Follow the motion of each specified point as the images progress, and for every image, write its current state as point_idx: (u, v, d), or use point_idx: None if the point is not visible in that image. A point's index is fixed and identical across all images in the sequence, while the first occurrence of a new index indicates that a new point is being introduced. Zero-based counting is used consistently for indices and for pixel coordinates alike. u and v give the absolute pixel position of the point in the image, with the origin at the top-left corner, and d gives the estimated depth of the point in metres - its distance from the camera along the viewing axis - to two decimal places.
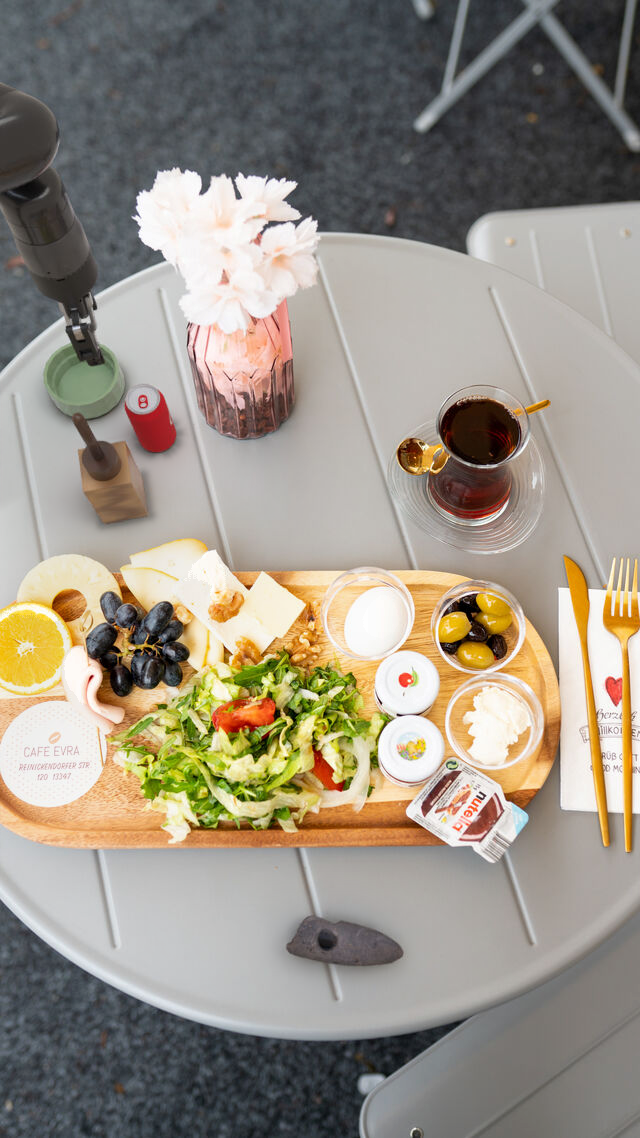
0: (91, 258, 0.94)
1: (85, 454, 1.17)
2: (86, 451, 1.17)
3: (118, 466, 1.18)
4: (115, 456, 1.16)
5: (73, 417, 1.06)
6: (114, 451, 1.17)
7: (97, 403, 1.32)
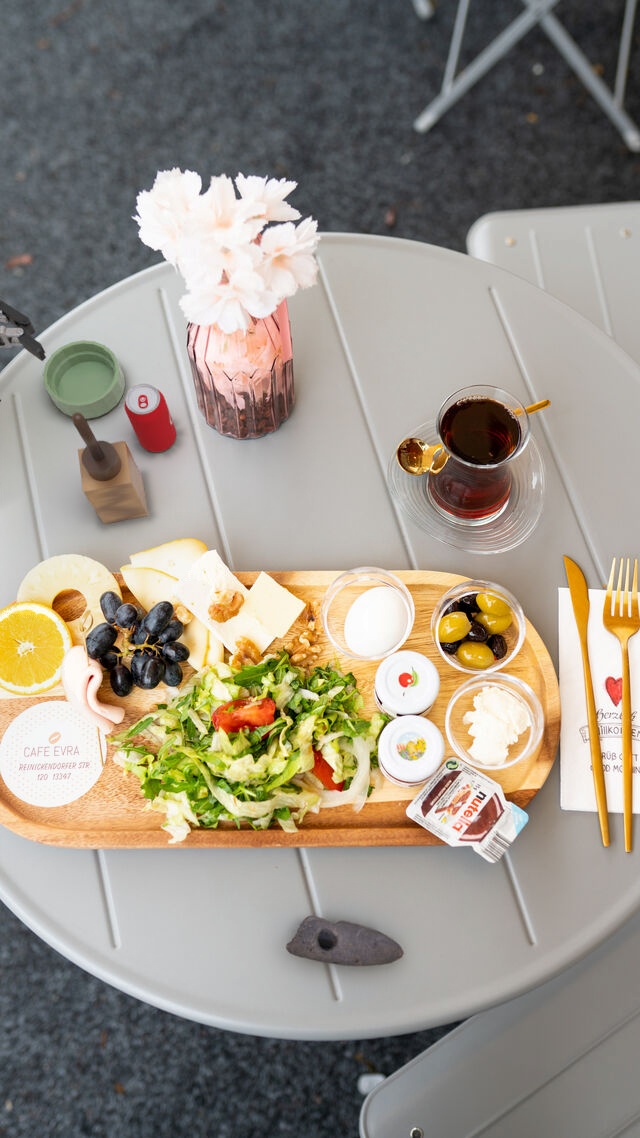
0: None
1: (85, 454, 1.17)
2: (86, 451, 1.17)
3: (118, 466, 1.18)
4: (115, 456, 1.16)
5: (73, 417, 1.06)
6: (114, 451, 1.17)
7: (97, 403, 1.32)
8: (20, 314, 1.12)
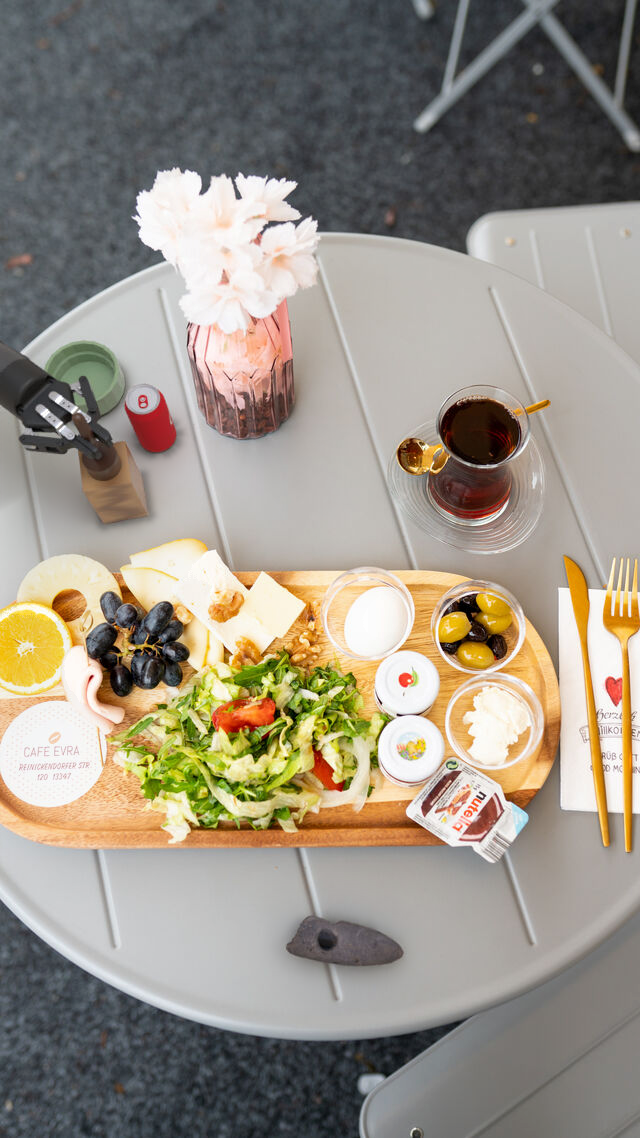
0: (6, 376, 1.10)
1: None
2: None
3: (118, 466, 1.18)
4: (115, 456, 1.16)
5: (73, 417, 1.06)
6: (114, 451, 1.17)
7: (97, 403, 1.32)
8: (92, 399, 1.12)
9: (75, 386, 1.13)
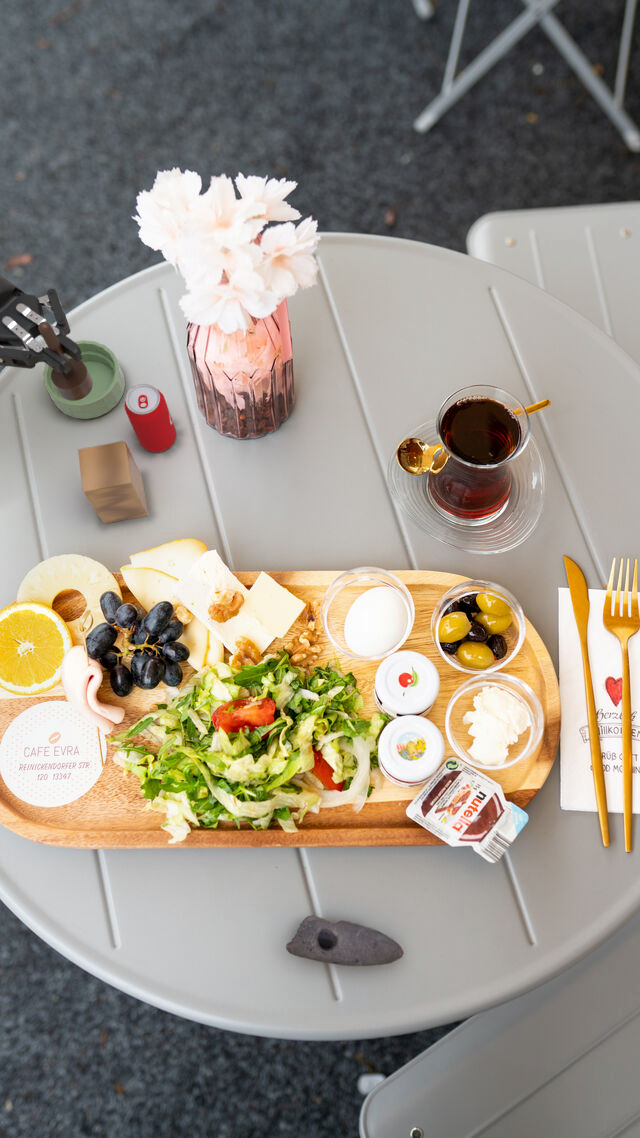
0: None
1: (55, 371, 1.14)
2: None
3: (89, 384, 1.15)
4: (86, 374, 1.14)
5: (40, 326, 1.03)
6: (85, 369, 1.14)
7: (97, 403, 1.32)
8: (61, 312, 1.09)
9: (44, 299, 1.10)
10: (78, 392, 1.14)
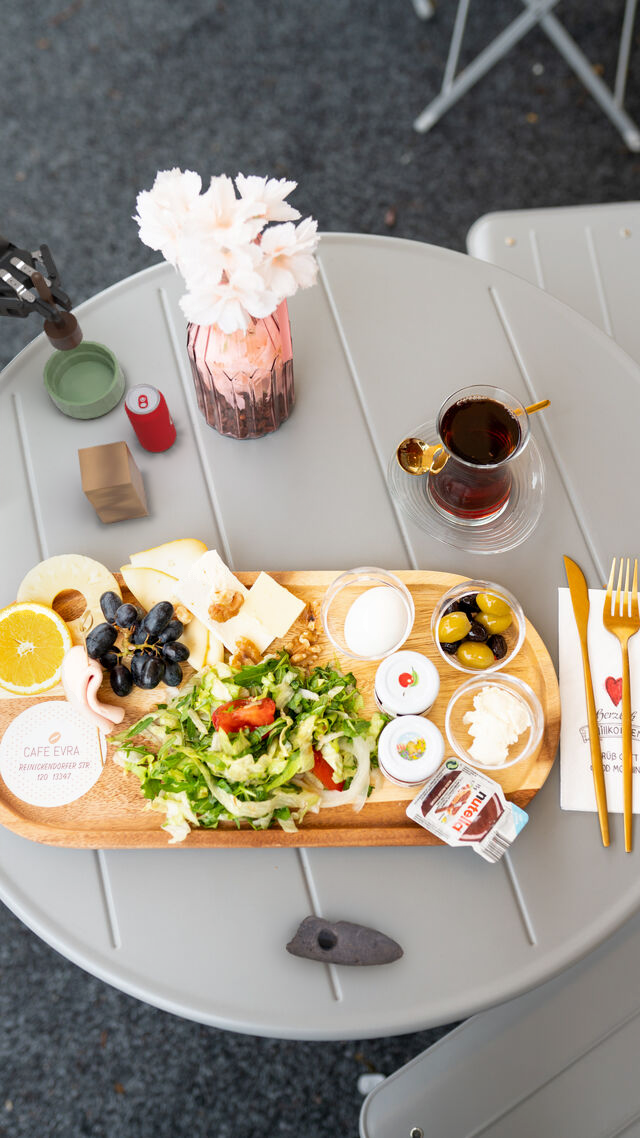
0: None
1: (47, 323, 1.21)
2: None
3: (79, 335, 1.23)
4: (76, 325, 1.21)
5: (32, 275, 1.11)
6: (75, 320, 1.22)
7: (97, 403, 1.32)
8: (52, 266, 1.17)
9: (36, 254, 1.18)
10: (69, 342, 1.22)
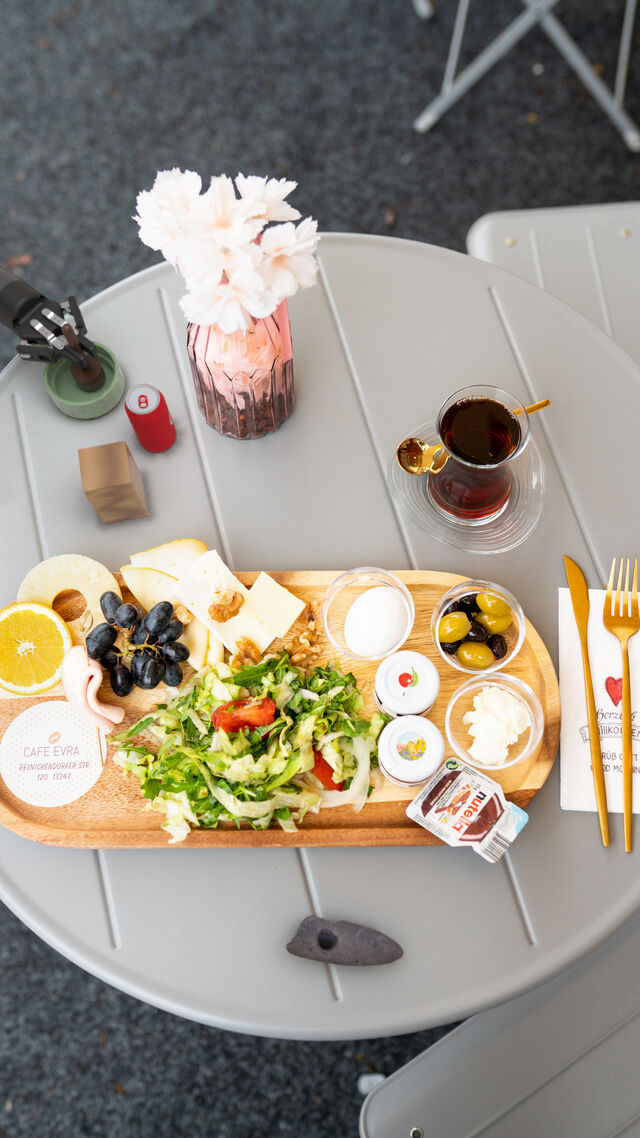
0: (5, 294, 1.27)
1: (74, 366, 1.33)
2: None
3: (102, 377, 1.35)
4: (100, 368, 1.33)
5: (63, 327, 1.23)
6: (99, 364, 1.34)
7: (97, 403, 1.32)
8: (79, 316, 1.29)
9: (65, 305, 1.30)
10: (93, 384, 1.34)
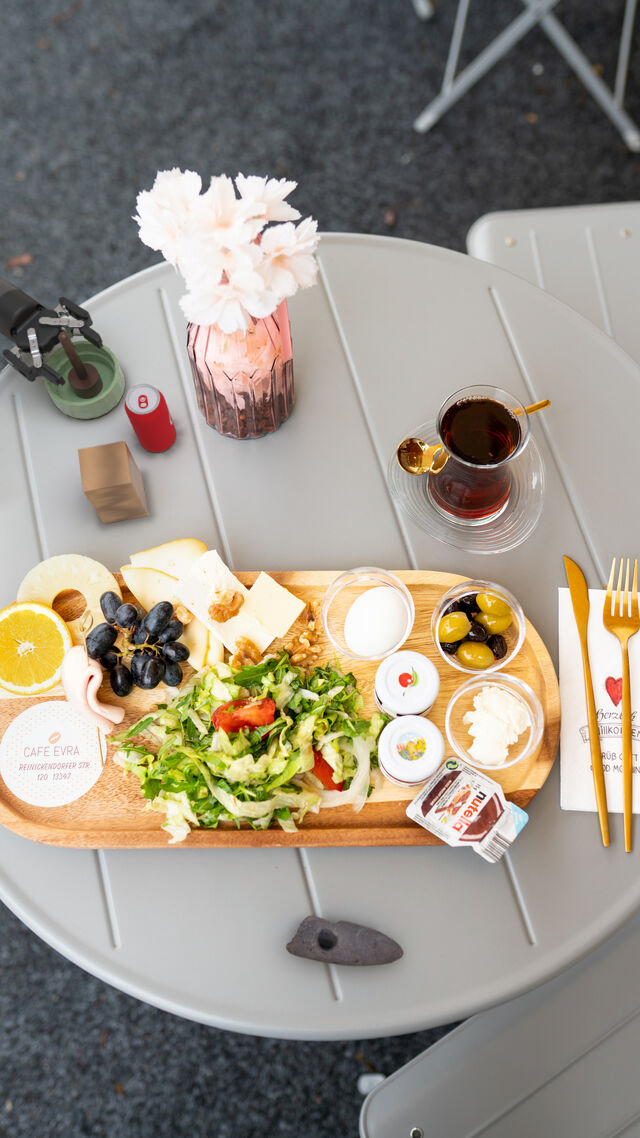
0: (2, 303, 1.28)
1: (71, 374, 1.34)
2: (72, 372, 1.34)
3: (99, 385, 1.35)
4: (97, 376, 1.34)
5: (59, 335, 1.24)
6: (96, 371, 1.34)
7: (97, 403, 1.32)
8: (81, 308, 1.30)
9: (59, 309, 1.31)
10: (90, 391, 1.34)
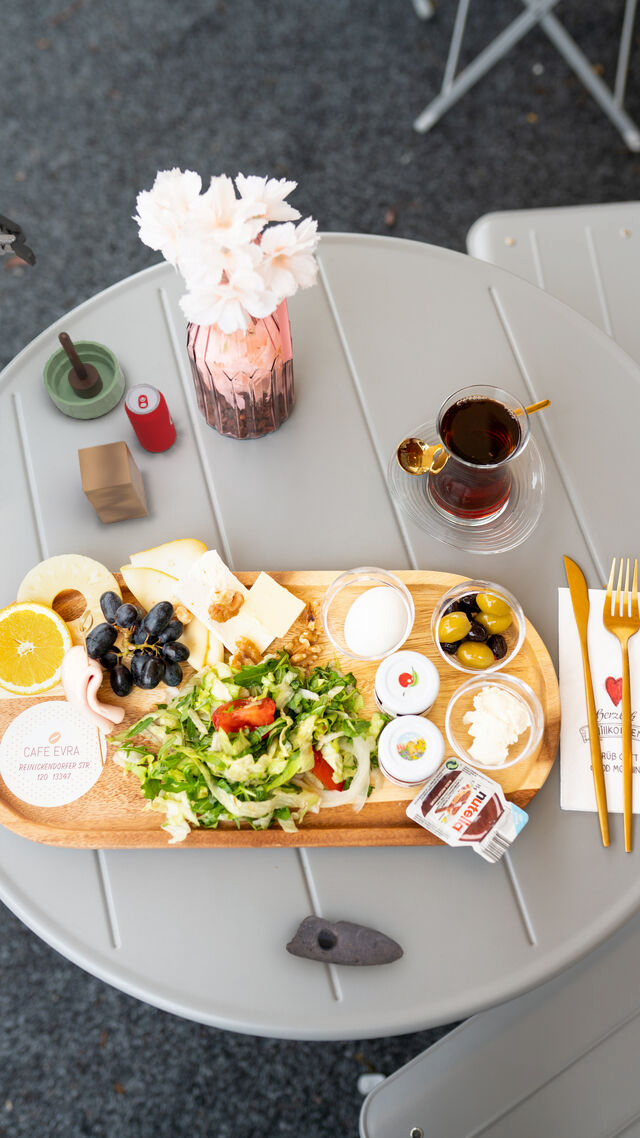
0: None
1: (71, 374, 1.34)
2: (72, 372, 1.34)
3: (99, 385, 1.35)
4: (97, 376, 1.34)
5: (59, 335, 1.24)
6: (96, 371, 1.34)
7: (97, 403, 1.32)
8: (12, 223, 1.20)
9: None
10: (90, 391, 1.34)
